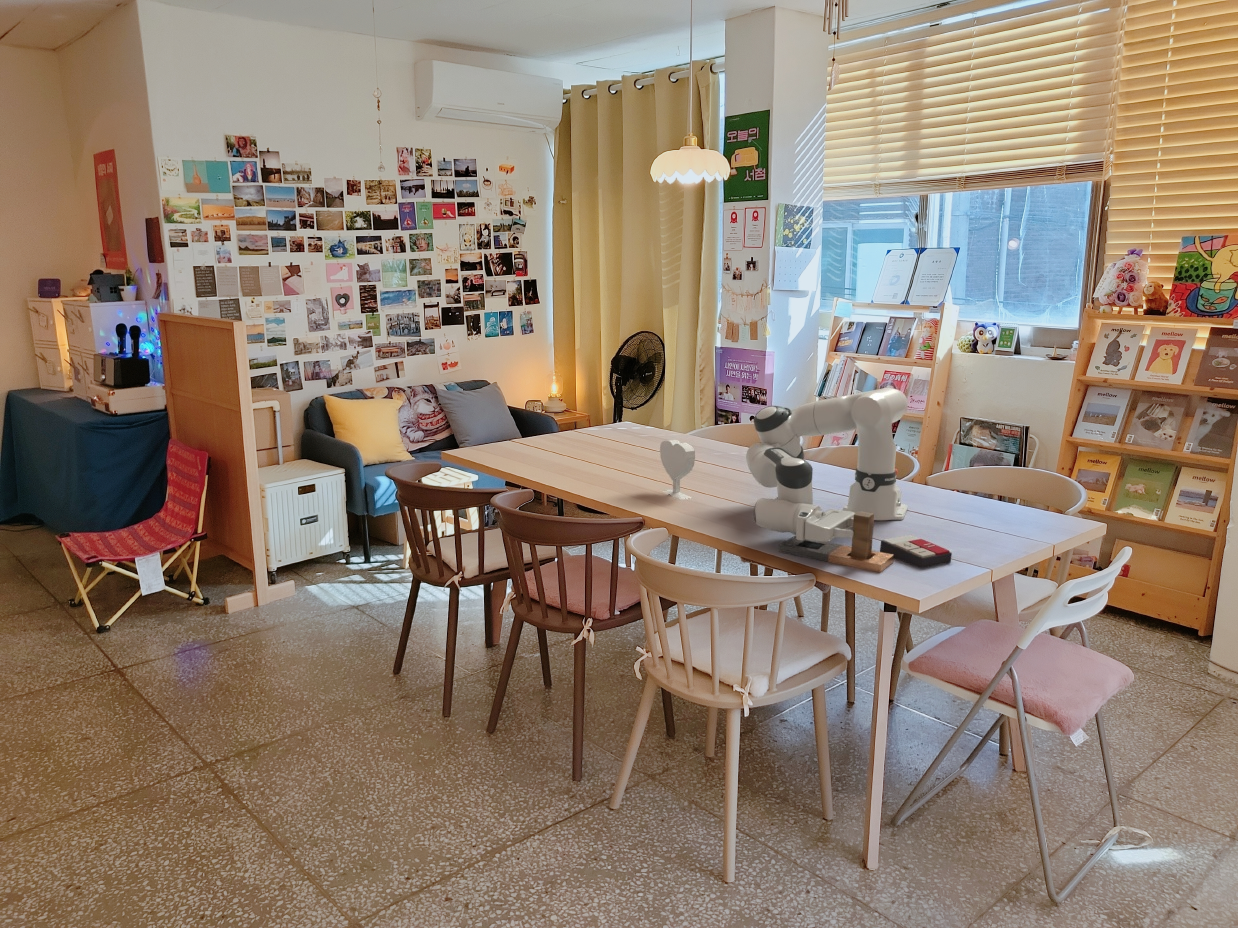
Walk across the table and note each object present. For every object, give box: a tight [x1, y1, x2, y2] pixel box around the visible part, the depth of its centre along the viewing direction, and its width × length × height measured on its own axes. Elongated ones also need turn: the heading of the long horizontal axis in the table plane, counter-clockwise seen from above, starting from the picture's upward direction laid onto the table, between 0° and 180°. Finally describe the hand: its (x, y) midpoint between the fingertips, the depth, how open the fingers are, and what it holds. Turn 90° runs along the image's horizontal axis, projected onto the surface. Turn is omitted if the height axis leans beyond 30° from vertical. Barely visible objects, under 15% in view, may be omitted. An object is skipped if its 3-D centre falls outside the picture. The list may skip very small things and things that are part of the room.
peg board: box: [778, 535, 895, 573], centre depth 241 cm, size 10×28×2 cm, turn 55°
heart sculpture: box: [659, 439, 696, 500], centre depth 302 cm, size 16×5×18 cm, turn 31°
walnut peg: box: [851, 511, 875, 560], centre depth 236 cm, size 4×4×13 cm
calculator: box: [879, 534, 953, 569], centre depth 241 cm, size 11×4×15 cm
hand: (860, 529), depth 236 cm, fingers open, 8 cm apart
